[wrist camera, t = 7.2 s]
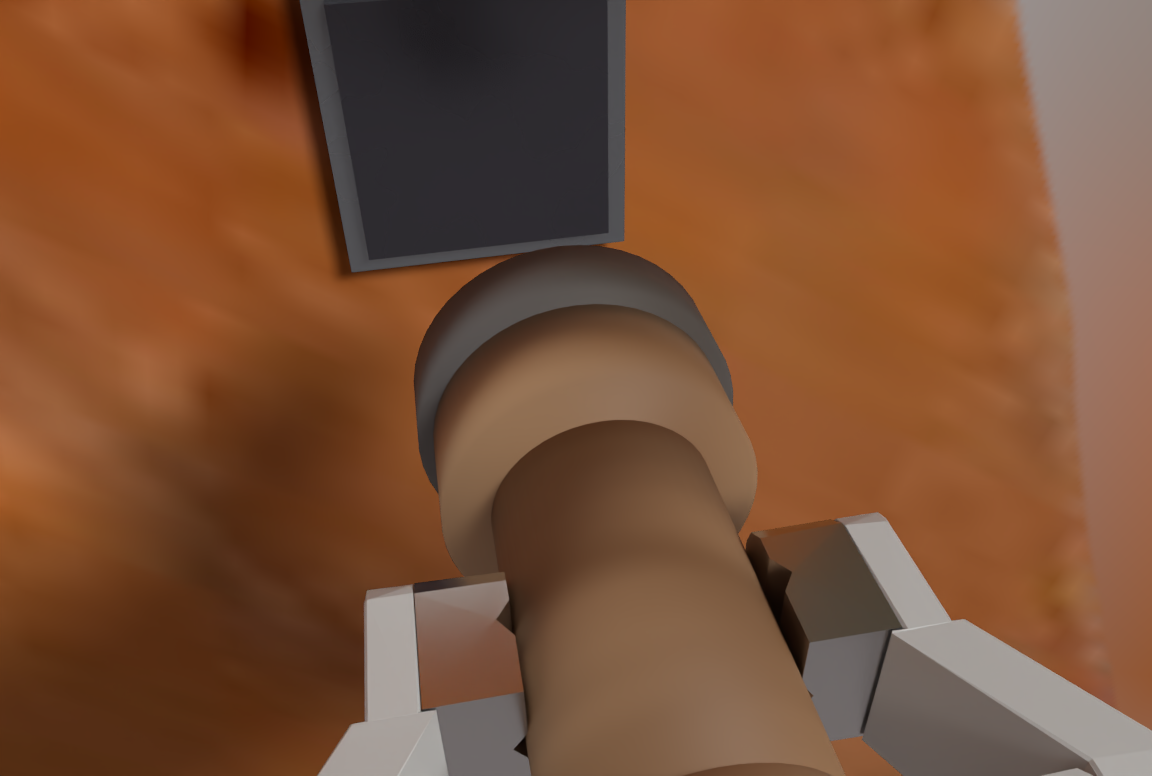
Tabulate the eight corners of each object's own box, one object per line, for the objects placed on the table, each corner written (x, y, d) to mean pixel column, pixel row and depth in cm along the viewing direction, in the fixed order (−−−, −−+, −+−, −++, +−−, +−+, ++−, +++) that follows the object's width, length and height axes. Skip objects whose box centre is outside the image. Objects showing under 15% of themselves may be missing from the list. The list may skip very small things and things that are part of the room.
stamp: (432, 506, 15) (513, 1394, 7) (393, 263, 12) (455, 1249, 5) (700, 468, 16) (1040, 1253, 8) (717, 228, 13) (1258, 1052, 5)
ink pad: (351, 257, 24) (351, 280, 23) (296, -33, 20) (293, -19, 19) (617, 227, 25) (627, 248, 24) (617, -56, 21) (630, -44, 20)
